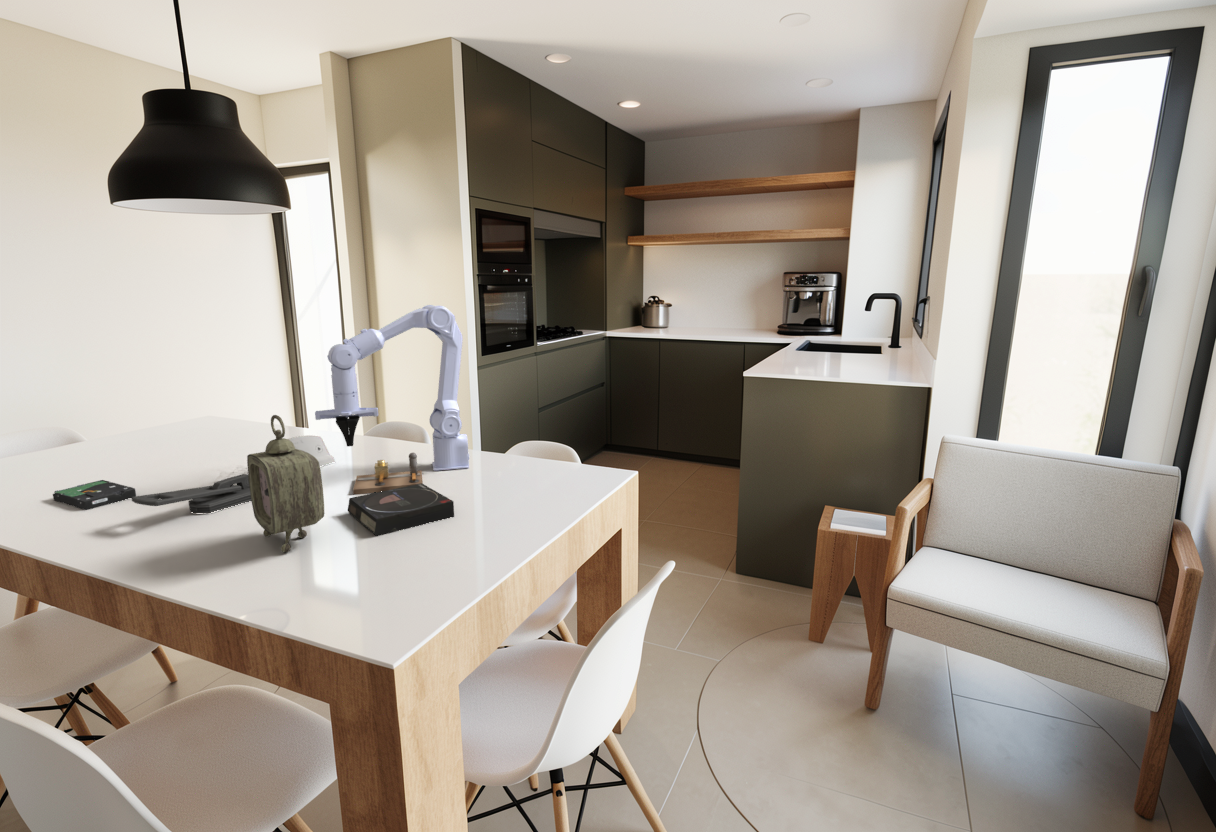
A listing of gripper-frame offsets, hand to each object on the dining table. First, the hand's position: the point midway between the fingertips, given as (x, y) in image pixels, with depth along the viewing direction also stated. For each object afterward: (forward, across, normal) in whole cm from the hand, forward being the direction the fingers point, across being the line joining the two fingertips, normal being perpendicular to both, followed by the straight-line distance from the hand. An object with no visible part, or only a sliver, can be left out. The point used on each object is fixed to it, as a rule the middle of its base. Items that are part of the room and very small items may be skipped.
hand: (350, 445), depth 155 cm
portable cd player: (+10, +12, -30) cm, 34 cm away
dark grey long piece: (+10, -30, -13) cm, 34 cm away
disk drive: (+10, -56, +4) cm, 57 cm away
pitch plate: (+9, +9, -6) cm, 14 cm away
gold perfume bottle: (+8, +7, -6) cm, 12 cm away
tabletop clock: (+10, -8, -38) cm, 40 cm away
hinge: (+10, -14, +16) cm, 24 cm away
